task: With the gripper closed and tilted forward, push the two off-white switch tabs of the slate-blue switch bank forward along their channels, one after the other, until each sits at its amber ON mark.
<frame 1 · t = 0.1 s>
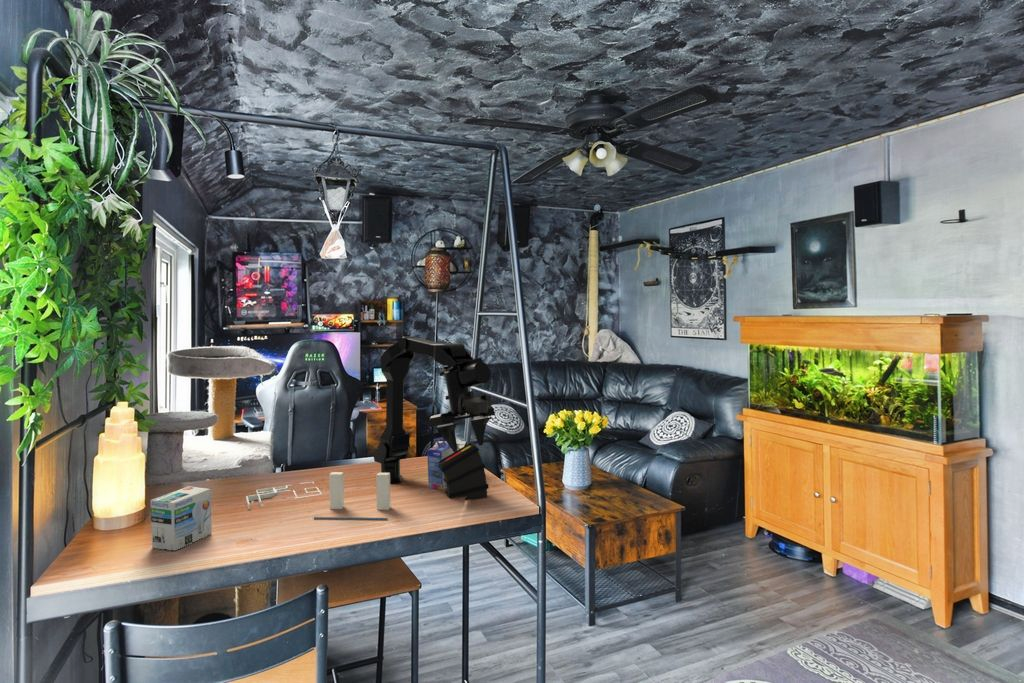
hand: (468, 448, 151), 15 cm above the table, tool pointing down, fingers open, 9 cm apart
ink cartridge box: (444, 487, 168), on the table
floor plan model: (285, 503, 156), on the table
light bulb box: (183, 541, 129), on the table
puzzle cube: (449, 476, 179), on the table
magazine: (463, 499, 158), on the table
white tab 1: (383, 491, 147), point 6 cm above the table, slide at 0.0 cm
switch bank: (358, 515, 145), on the table
white tab 2: (336, 490, 147), point 6 cm above the table, slide at 0.0 cm
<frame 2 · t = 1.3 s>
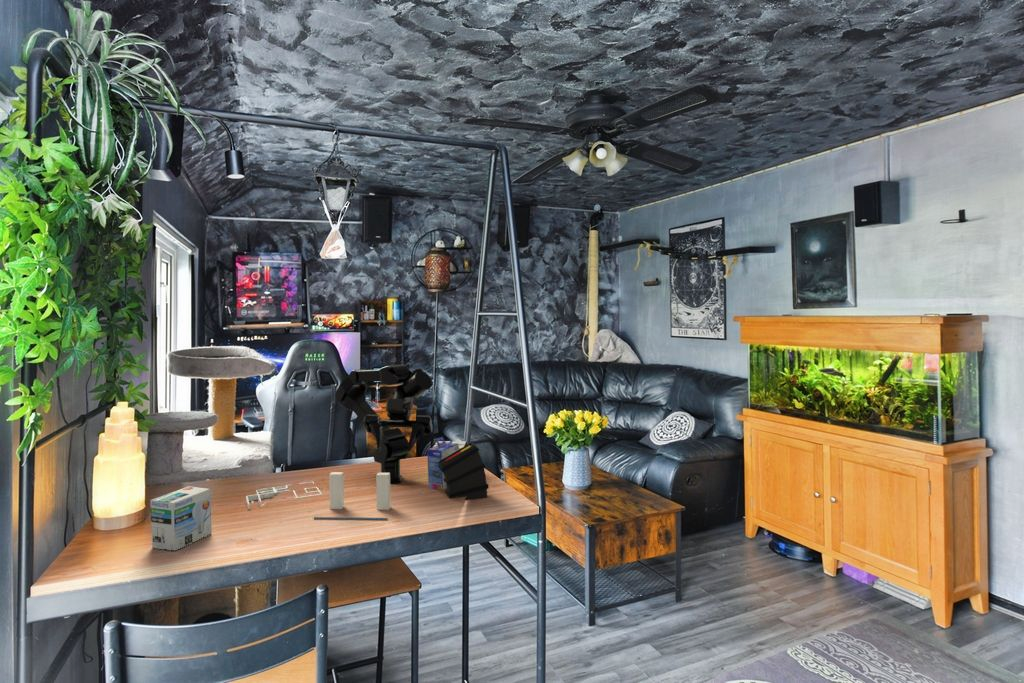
hand: (393, 450, 157), 13 cm above the table, tool tilted 45°, fingers open, 8 cm apart
nothing on the table moved.
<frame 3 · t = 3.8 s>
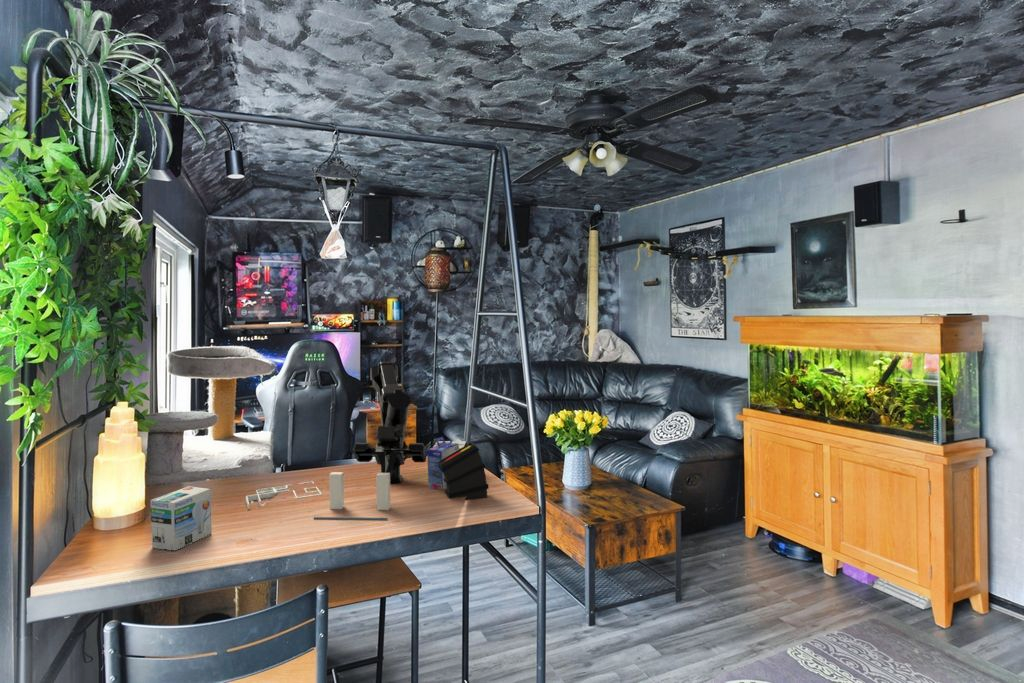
hand: (384, 481, 148), 8 cm above the table, tool tilted 45°, fingers closed, pressing on white tab 1
white tab 1: (383, 491, 146), point 6 cm above the table, slide at 0.1 cm, touching gripper
everything else where it was.
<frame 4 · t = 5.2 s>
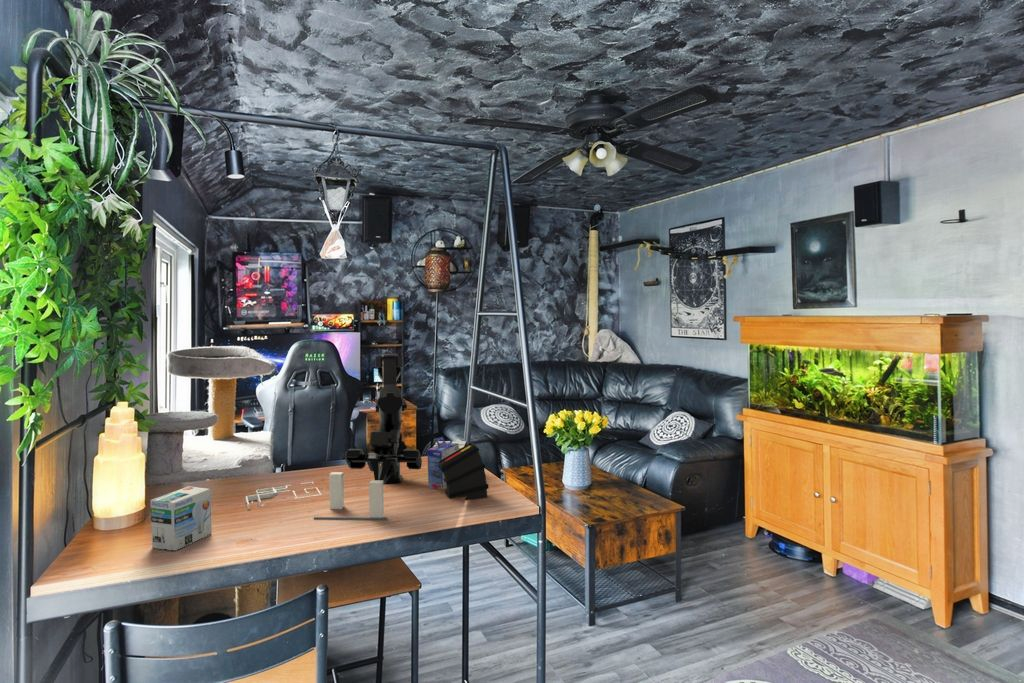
hand: (377, 489, 141), 8 cm above the table, tool tilted 45°, fingers closed, pressing on white tab 1
white tab 1: (376, 499, 140), point 6 cm above the table, slide at 6.6 cm, touching gripper
everything else where it was.
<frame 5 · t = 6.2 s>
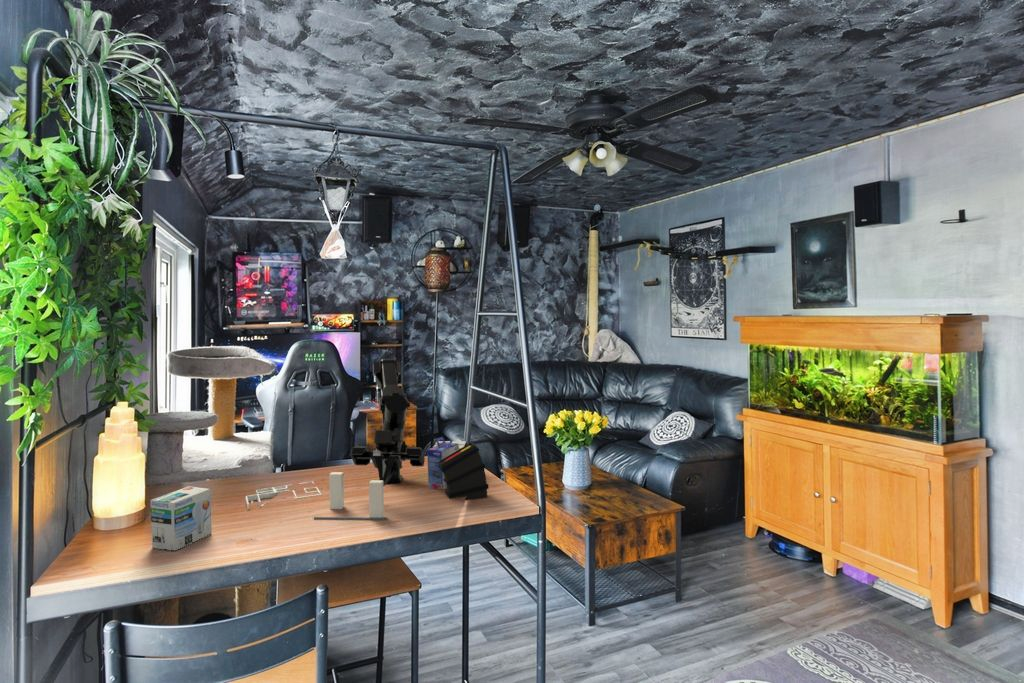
hand: (382, 485, 146), 7 cm above the table, tool tilted 45°, fingers closed
white tab 1: (376, 499, 140), point 6 cm above the table, slide at 6.5 cm
everything else where it was.
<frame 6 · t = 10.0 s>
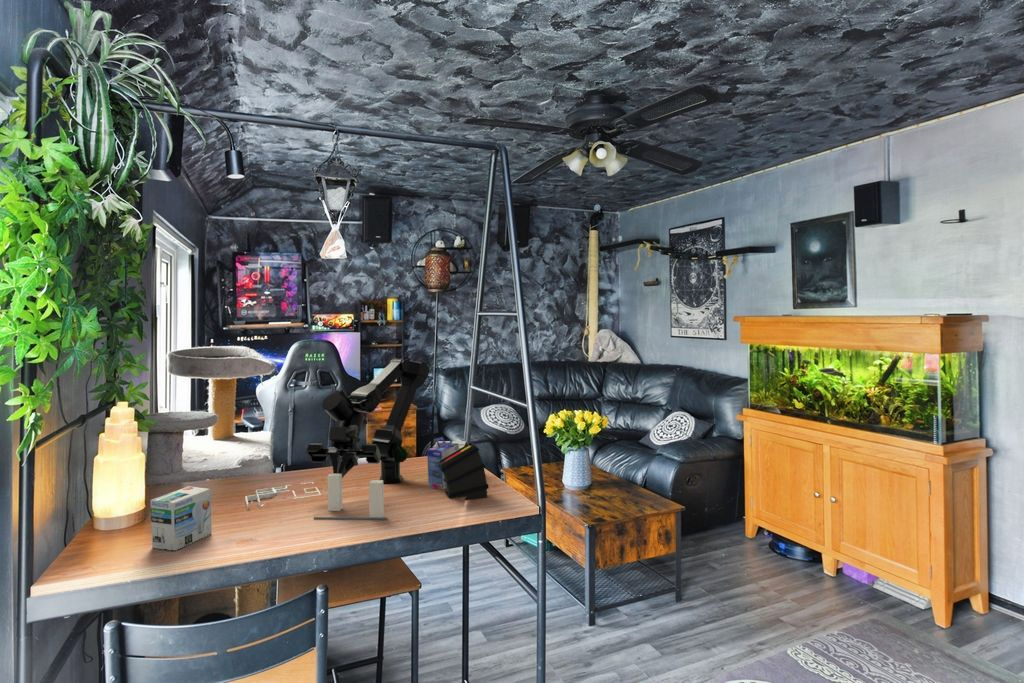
hand: (336, 482, 147), 8 cm above the table, tool tilted 45°, fingers closed, pressing on white tab 2
white tab 2: (335, 492, 146), point 6 cm above the table, slide at 1.3 cm, touching gripper
everything else where it was.
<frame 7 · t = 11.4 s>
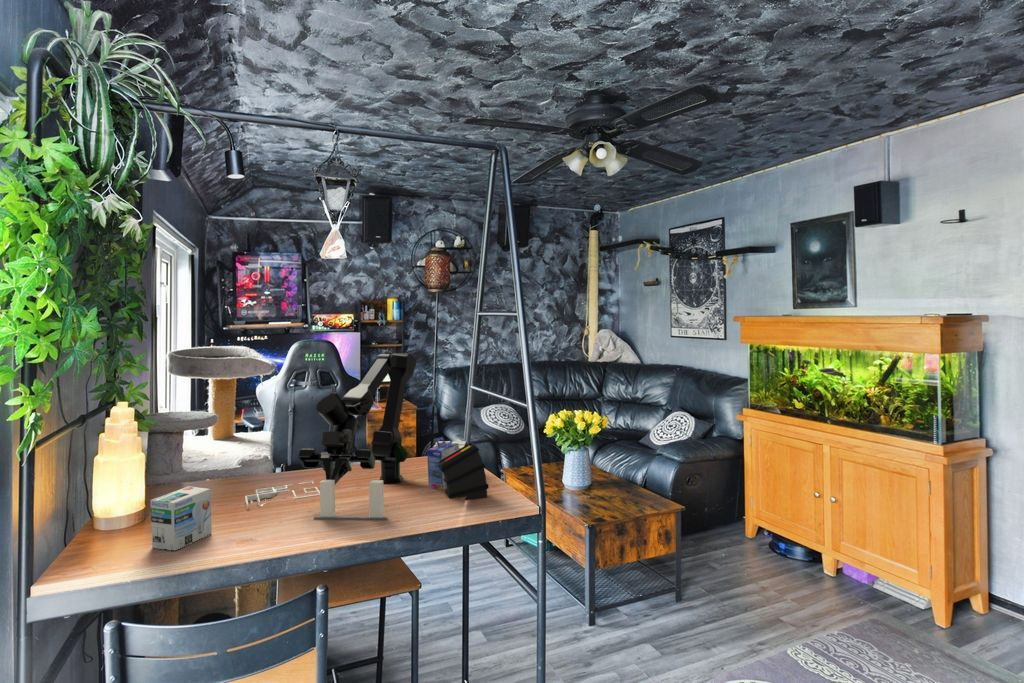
hand: (328, 488, 142), 8 cm above the table, tool tilted 45°, fingers closed, pressing on white tab 2
white tab 2: (327, 499, 140), point 6 cm above the table, slide at 6.6 cm, touching gripper, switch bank
everything else where it was.
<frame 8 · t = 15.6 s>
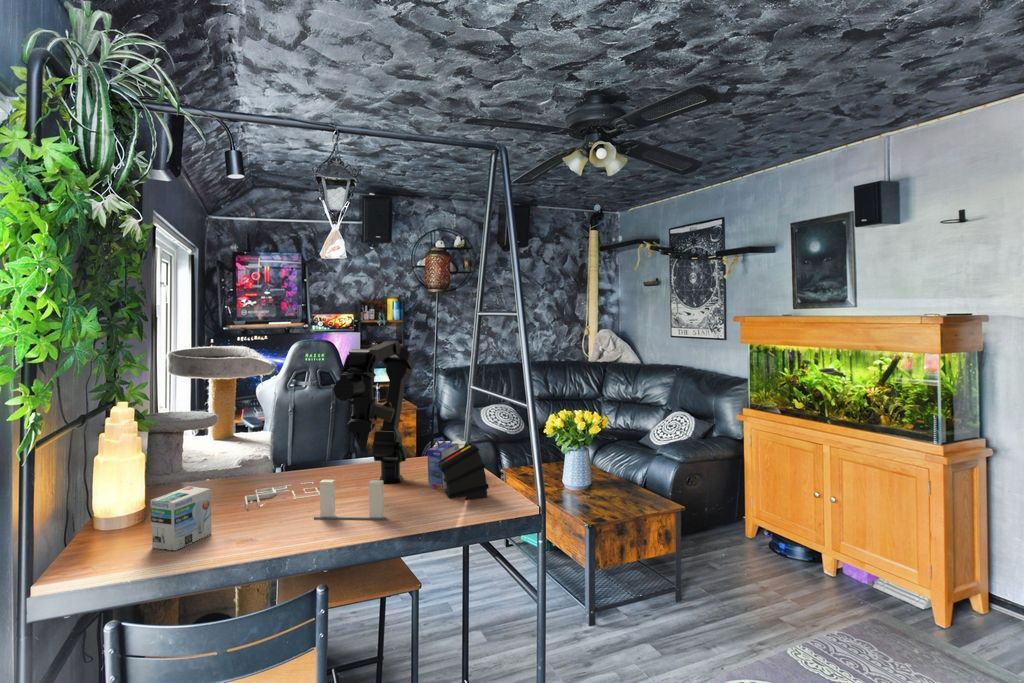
hand: (363, 451, 157), 13 cm above the table, tool pointing down, fingers closed
white tab 2: (327, 499, 140), point 6 cm above the table, slide at 6.5 cm
everything else where it was.
at the end: white tab 1 slide at 6.5 cm; white tab 2 slide at 6.5 cm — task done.
